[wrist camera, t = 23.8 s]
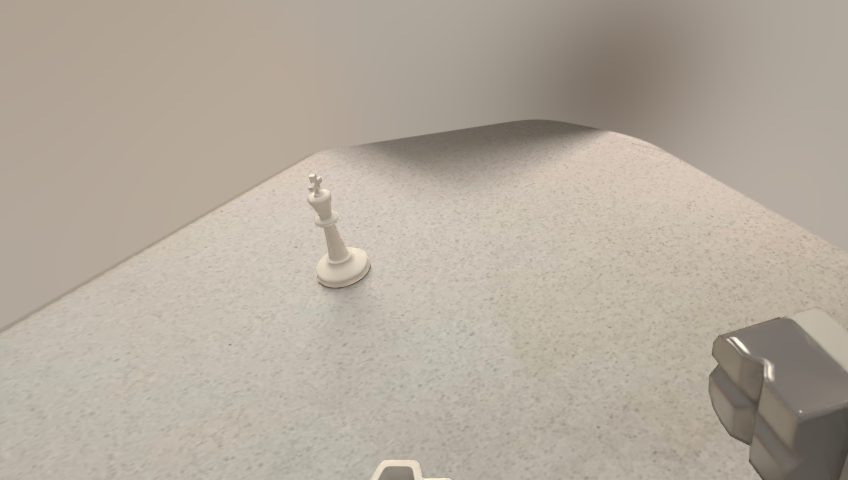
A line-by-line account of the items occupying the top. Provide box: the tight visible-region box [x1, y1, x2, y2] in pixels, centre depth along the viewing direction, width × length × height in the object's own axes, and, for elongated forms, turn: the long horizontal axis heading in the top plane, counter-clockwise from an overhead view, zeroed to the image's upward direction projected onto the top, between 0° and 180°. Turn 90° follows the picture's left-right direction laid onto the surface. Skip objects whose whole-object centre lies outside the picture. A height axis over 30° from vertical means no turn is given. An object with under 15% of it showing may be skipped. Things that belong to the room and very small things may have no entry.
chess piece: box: [307, 174, 370, 288], centre depth 56 cm, size 5×5×10 cm
